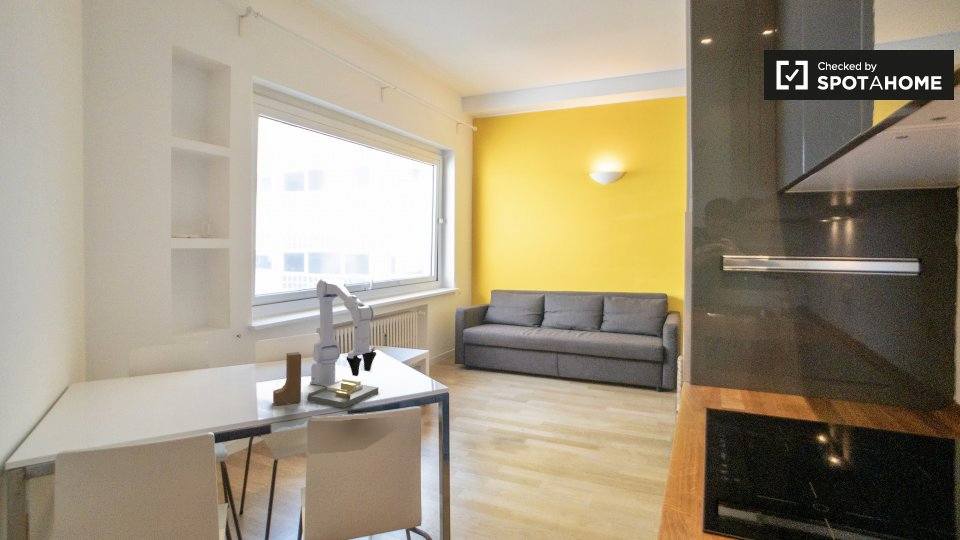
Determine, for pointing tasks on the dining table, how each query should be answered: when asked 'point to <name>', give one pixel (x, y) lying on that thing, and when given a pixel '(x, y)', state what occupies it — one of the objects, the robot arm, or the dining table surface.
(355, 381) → the cover
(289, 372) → the wooden block
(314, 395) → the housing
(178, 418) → the dining table surface
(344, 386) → the key
